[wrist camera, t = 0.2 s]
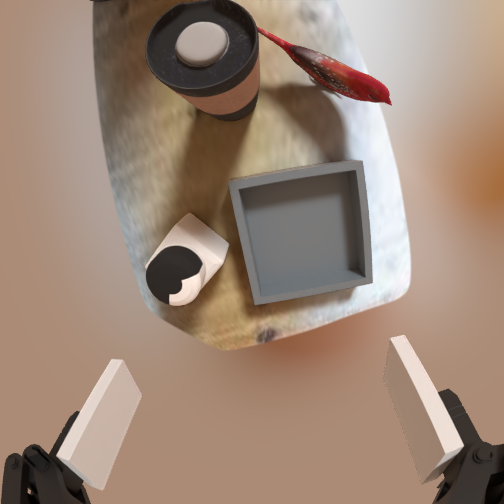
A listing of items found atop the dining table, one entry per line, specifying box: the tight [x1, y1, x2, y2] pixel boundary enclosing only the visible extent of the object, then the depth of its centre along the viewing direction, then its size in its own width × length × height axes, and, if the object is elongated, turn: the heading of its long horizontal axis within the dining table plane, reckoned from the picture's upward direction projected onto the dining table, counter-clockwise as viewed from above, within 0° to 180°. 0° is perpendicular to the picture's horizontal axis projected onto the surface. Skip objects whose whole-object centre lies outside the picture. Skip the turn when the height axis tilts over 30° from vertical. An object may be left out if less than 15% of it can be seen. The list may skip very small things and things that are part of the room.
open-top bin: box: [228, 159, 373, 305], centre depth 36 cm, size 16×16×4 cm
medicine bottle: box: [145, 213, 229, 306], centre depth 34 cm, size 7×7×12 cm
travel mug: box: [145, 0, 260, 121], centre depth 24 cm, size 8×8×20 cm
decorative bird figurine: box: [257, 27, 392, 105], centre depth 27 cm, size 3×18×10 cm, turn 59°
